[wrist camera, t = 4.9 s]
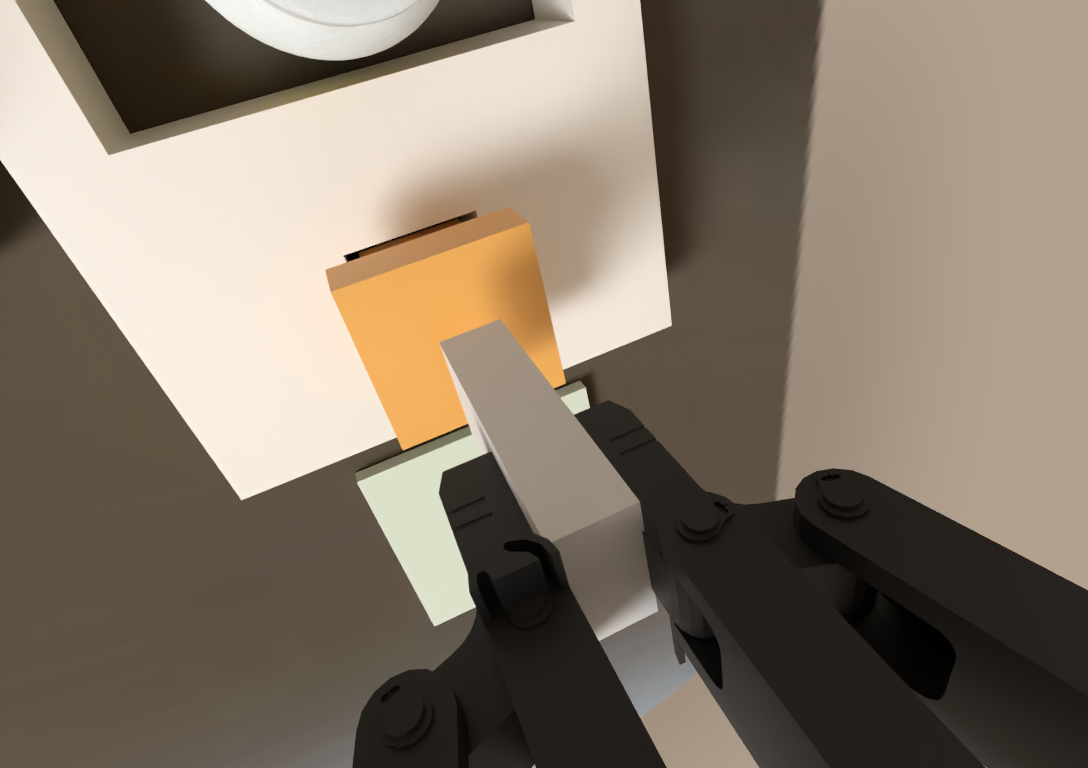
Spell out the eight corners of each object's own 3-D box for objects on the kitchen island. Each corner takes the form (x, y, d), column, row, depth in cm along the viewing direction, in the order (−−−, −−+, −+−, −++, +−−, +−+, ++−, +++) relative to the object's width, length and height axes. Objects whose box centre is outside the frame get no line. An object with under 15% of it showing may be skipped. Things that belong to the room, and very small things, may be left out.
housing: (243, 447, 22) (241, 500, 20) (-309, -390, 11) (-470, -501, 8) (633, 295, 25) (671, 325, 23) (527, -484, 14) (583, -584, 11)
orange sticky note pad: (378, 373, 21) (403, 450, 17) (316, 234, 18) (330, 292, 14) (515, 321, 22) (565, 383, 18) (477, 180, 19) (528, 222, 15)
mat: (431, 616, 30) (434, 626, 30) (355, 473, 25) (356, 482, 24) (611, 532, 32) (617, 539, 32) (579, 380, 27) (585, 387, 26)
